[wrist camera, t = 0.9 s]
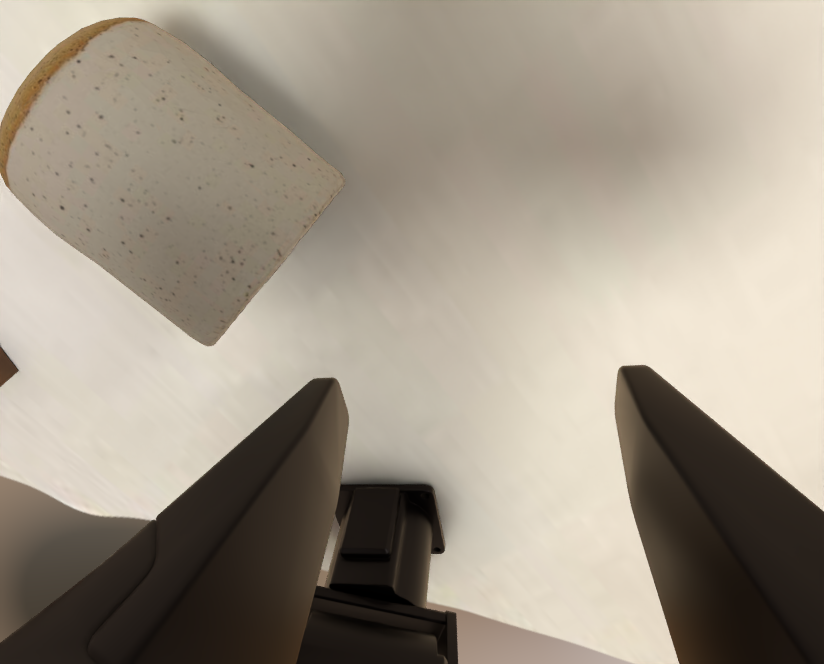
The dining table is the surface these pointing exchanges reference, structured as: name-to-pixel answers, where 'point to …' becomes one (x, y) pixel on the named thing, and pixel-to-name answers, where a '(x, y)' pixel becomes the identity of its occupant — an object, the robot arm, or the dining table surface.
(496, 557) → the dining table surface
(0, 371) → the walnut board
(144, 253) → the ceramic mug
